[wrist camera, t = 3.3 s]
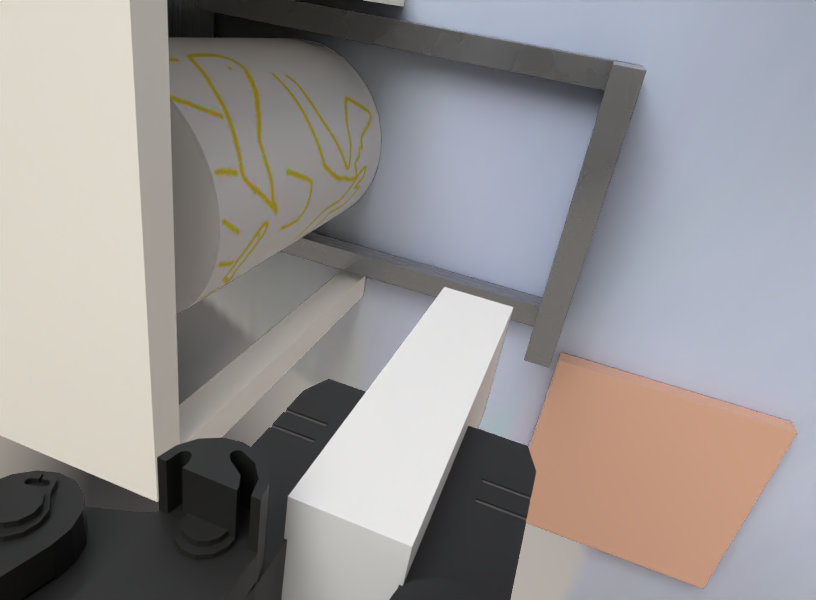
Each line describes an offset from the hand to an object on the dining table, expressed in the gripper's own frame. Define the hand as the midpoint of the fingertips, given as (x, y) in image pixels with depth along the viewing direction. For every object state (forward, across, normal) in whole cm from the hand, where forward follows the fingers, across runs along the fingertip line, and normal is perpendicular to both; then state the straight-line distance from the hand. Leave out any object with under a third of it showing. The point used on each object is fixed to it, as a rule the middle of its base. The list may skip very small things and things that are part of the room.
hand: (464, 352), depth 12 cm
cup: (+14, -12, 0) cm, 18 cm away
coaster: (+14, +8, -12) cm, 20 cm away
